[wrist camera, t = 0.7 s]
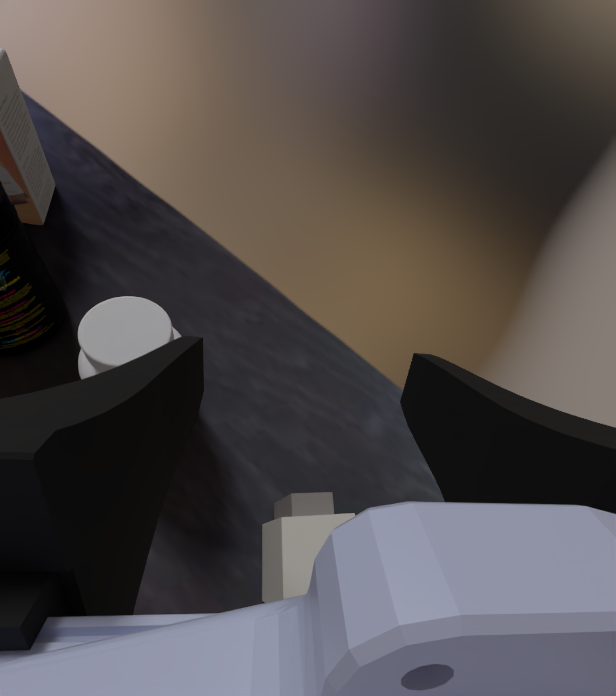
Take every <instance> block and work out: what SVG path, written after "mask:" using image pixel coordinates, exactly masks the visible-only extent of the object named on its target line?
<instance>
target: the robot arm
mask: <svg viewBox="0 0 616 696" xmlns="http://www.w3.org/2000/svg"><path fill="white" fill-rule="evenodd" d="M203 392H204V372H203V337H190V336H182V337H179V338H177V339H175V340H173V341H170V342H168V343H166V344H165V345H163V346H161V347H159V348H157V349H155V350H153V351H151V352H149V353H147V354H144V355H142V356H140V357H138V358H136V359H133V360H131V361H129V362H127V363H124V364H122V365H120V366H118V367H115V368H113V369H110V370H107V371H105V372H102V373H99V374H96V375H93V376H90V377H87V378H84V379H81V380H78V381H75V382H71V383H67V384H63V385H60V386H56V387H52V388H48V389H44V390H40V391H36V392H32V393H27V394H23V395H18V396H13V397H8V398H2V399H0V696H616V428H615V427H611V426H607V425H603V424H600V423H597V422H593V421H590V420H587V419H584V418H580V417H577V416H574V415H570V414H568V413H564V412H562V411H559V410H556V409H553V408H550V407H548V406H545V405H542V404H540V403H537V402H534V401H532V400H529V399H527V398H524V397H522V396H520V395H517V394H515V393H513V392H511V391H508V390H506V389H504V388H501V387H500V386H497V385H495V384H493V383H491V382H489V381H487V380H485V379H483V378H481V377H479V376H477V375H475V374H473V373H471V372H469V371H467V370H465V369H463V368H461V367H459V366H457V365H455V364H453V363H450V362H449V361H446V360H444V359H442V358H440V357H437V356H434V355H431V354H418V353H414V354H413V358H412V362H411V365H410V369H409V373H408V376H407V379H406V383H405V387H404V390H403V394H402V397H401V401H400V403H401V406H402V410H403V413H404V416H405V419H406V422H407V424H408V427H409V429H410V431H411V433H412V435H413V437H414V439H415V441H416V443H417V445H418V447H419V449H420V451H421V452H422V454H423V456H424V458H425V460H426V462H427V464H428V466H429V468H430V470H431V472H432V474H433V476H434V477H435V479H436V482H437V484H438V486H439V488H440V490H441V493H442V495H443V498H444V500H445V502H403V503H397V504H391V505H385V506H379V507H373V508H368V509H366V510H365V511H363V512H361V513H360V514H358V515H356V516H354V517H353V518H351V519H349V520H348V521H346V522H344V523H342V524H341V525H339V526H337V527H336V528H335V529H334V530H333V531H332V532H331V533H330V535H329V536H328V538H327V540H326V541H325V543H324V545H323V546H322V548H321V549H320V551H319V553H318V554H317V556H316V558H315V560H314V565H313V570H312V575H311V580H310V585H309V588H308V591H307V593H306V594H304V595H300V596H295V597H291V598H286V599H282V600H277V601H273V602H268V603H264V604H259V605H255V606H250V607H246V608H241V609H237V610H232V611H228V612H223V613H219V614H170V615H133V611H134V607H135V603H136V599H137V595H138V591H139V588H140V584H141V580H142V576H143V572H144V569H145V565H146V561H147V557H148V554H149V550H150V546H151V543H152V539H153V536H154V532H155V529H156V525H157V522H158V518H159V515H160V512H161V508H162V505H163V502H164V498H165V495H166V492H167V489H168V485H169V483H170V480H171V477H172V474H173V472H174V469H175V467H176V465H177V462H178V460H179V458H180V455H181V453H182V451H183V448H184V446H185V444H186V442H187V439H188V437H189V435H190V432H191V430H192V427H193V425H194V423H195V420H196V418H197V415H198V412H199V408H200V404H201V400H202V396H203Z"/></svg>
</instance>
